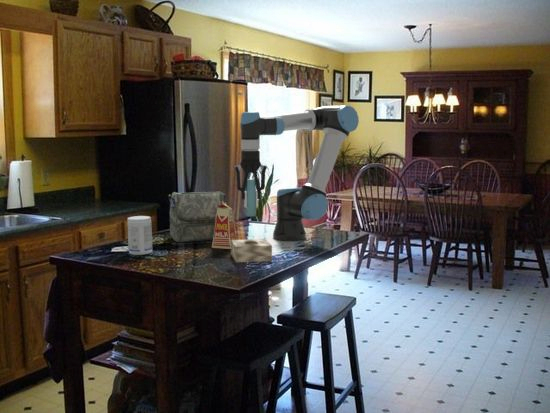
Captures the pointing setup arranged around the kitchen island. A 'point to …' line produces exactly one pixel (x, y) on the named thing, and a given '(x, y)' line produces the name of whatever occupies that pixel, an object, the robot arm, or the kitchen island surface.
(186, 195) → the lunch bag
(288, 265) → the kitchen island surface
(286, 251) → the kitchen island surface
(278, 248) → the kitchen island surface
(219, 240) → the milk carton
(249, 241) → the bore block
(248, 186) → the dowel
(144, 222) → the supplement tub
